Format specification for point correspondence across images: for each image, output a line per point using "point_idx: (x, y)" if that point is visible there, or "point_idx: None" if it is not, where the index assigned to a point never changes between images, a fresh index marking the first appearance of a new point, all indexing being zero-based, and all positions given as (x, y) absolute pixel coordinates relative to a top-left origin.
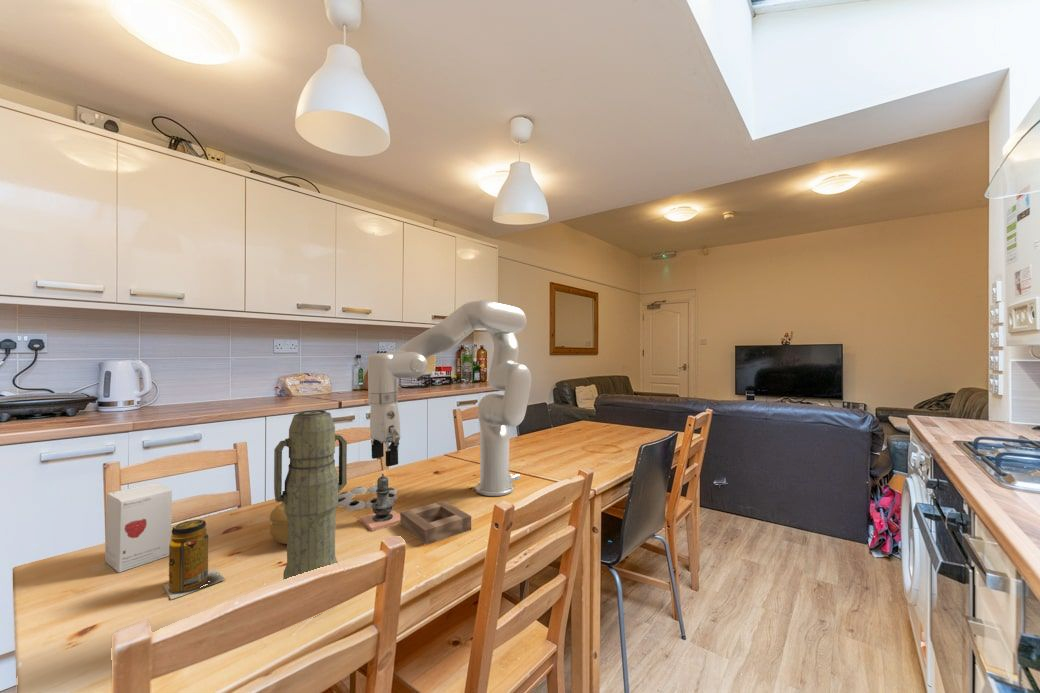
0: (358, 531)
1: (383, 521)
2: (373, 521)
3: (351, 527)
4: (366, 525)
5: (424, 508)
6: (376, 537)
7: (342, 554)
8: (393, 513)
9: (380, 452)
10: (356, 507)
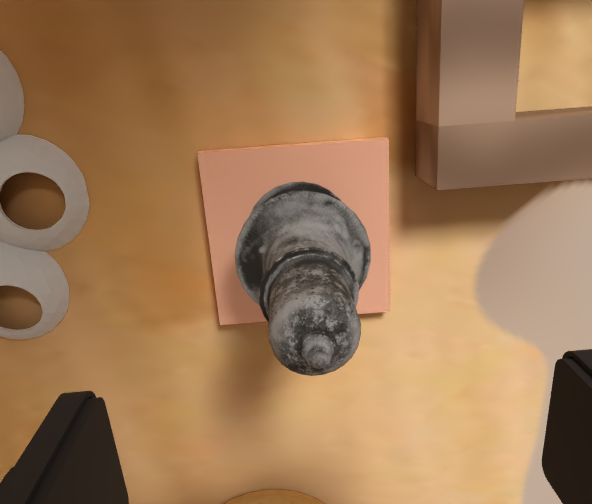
0: None
1: None
2: None
3: None
4: None
5: (482, 34)
6: (460, 304)
7: (508, 435)
8: (276, 167)
9: (87, 478)
10: (56, 300)
